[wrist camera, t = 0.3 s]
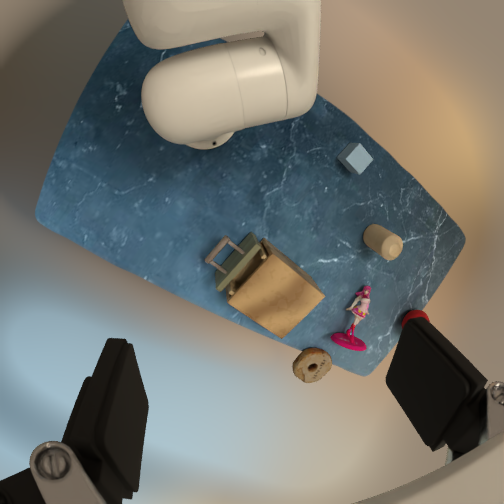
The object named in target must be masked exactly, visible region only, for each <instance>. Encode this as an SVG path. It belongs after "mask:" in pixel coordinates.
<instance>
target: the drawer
mask: <svg viewBox="0 0 504 504" xmlns="http://www.w3.org/2000/svg"><path fill="white" fill-rule="evenodd" d="M227 243H228V244H229V245H231V246H232V247H233V248H235V250H234V252H233V253H232V254H231V255H230V256H229V257H228V258H227V260H226V261H225V262H224V263H223V264H222V265H221V266H220V265H218V264H217V263H216V262H214V261H213V259H214V258H215V256H216V255H217V254H218V253H219V252H220V251H221V250H222V248H223V247H224V246H225V245H226V244H227ZM268 256H269V254H268V252H267V250H266V248H265V247H264V246H262V245H261V244H260V243H259V242H258V240H257V238H256V236H255V234H253V233H252V232H250V234H249V235H248V236H247V237H246V238H245V239H244V240H243V241H242V243H241V244H240V245H239V246H237V245H236V244H234V243H233V242H232V241H230V238H229V237H228V236H226V235H225V236H224V237H223V238H222V239H221V241H220V242H219V243H218V244H217V245H216V246H215V248H214V249H213V250H212V251H211V252H210V253H209V255H208V256H207V257H206V258H205V259H204V260H205V261H206V262H207V263H208V264H209V263H211V264H212V265H213V266H215V267H216V268H217V269H218V270H217V271H216V272H215V283H216V289H217V290H218V291H220V292H221V291H222V290H223V289H224V288H225V287H226V286H227V285H228V293H229V294H231V295H233V294H234V293H235V292H236V291H237V289H238V288H239V287H240V286H241V285H242V284H243V283H244V282H245V281H246V280H247V279H248V278H249V276H250V275H251V274H252V273H253V272H254V271H255V270H256V269H257V268H258V267H259V266H260V264H261V263H262V262H263V261H264V260H265V259H266V258H267V257H268Z"/></svg>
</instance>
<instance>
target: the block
mask: <svg viewBox="0 0 504 504" xmlns="http://www.w3.org/2000/svg"><path fill="white" fill-rule="evenodd" d="M337 158H338V160H339V161H340V162H341V163H342V164H343V165H344V166H345V167H346V168H347V169H348V170H349V171H350V172H351V173H355V174H359V175H360V174H361V173H362V172H363V171H364V170H365V168H366V167H367V166H368V165H369V164H370V163H371V162H372V160H373V158H372V157H371V156H370V155H369V154H368V152H367V151H366V150H365V149H364V148H363V147H362V145H361V144H360V143H349V144H348V145H347V147H346V148H345V149H344V150H343V151H342V152H341V153H340V154H339V155H338V157H337Z"/></svg>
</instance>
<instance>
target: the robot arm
mask: <svg viewBox="0 0 504 504" xmlns="http://www.w3.org/2000/svg"><path fill="white" fill-rule="evenodd" d="M122 2H123V4H124V7H125V11H126V13H127V16H128V19H129V21H130V24H131V26H132V28H133V30H134V32H135V34H136V36H137V37H138V39H139V40H140V41H141V42H142V43H143V44H144V45H145V46H148V47H150V48H153V49H170V48H175V47H180V46H185V45H189V44H194V43H198V42H203V41H207V40H212V39H216V38H221V37H225V36H231V35H236V34H242V33H249V32H256V31H263V32H264V33H265V34H264V36H263V37H257V38H250V39H245V40H238V41H233V42H228V43H220V44H216V45H211V46H207V47H203V48H199V49H195V50H191V51H187V52H184V53H181V54H178V55H175V56H172V57H170V58H167V59H165V60H163V61H161V62H160V63H158V64H157V65H155V66H154V67H153V68H152V69H151V70H150V71H149V72H148V74H147V75H146V77H145V79H144V82H143V85H142V93H141V98H142V105H143V109H144V113H145V115H146V118H147V120H148V122H149V123H150V125H151V126H152V128H153V129H154V130H155V131H156V132H157V133H158V134H159V135H160V136H161V137H162V138H164V139H165V140H167V141H170V142H172V143H176V144H186V145H188V146H190V147H192V148H196V149H212V148H215V147H218V146H220V145H222V144H223V143H225V142H226V141H227V140H228V139H229V138H230V137H231V136H232V135H233V133H234V132H235V131H238V130H242V129H244V128H248V127H252V126H257V125H262V124H266V123H271V122H276V121H281V120H285V119H290V118H293V117H297V116H300V115H302V114H304V113H306V112H307V111H308V110H309V109H310V108H311V107H312V105H313V103H314V101H315V98H316V94H317V86H318V73H319V51H320V50H319V49H320V26H321V23H320V22H321V0H122ZM213 142H215V143H216V144H215V145H213ZM487 381H488V380H487V379H486V378H485V377H484V376H483V375H482V374H481V373H480V372H479V371H478V370H477V369H476V368H475V367H474V366H473V364H472V363H470V361H469V360H468V359H467V358H466V357H465V356H464V355H463V354H462V353H461V352H460V351H459V350H458V349H457V348H456V347H455V346H453V344H452V343H451V342H450V341H449V340H448V339H446V338H445V337H444V336H443V335H442V334H441V333H440V332H439V331H438V330H437V329H436V328H435V327H434V326H433V325H432V324H431V323H430V322H429V321H428V320H427V319H426V318H424V317H416V318H410V319H408V321H407V322H406V323H405V324H404V326H403V329H402V332H401V335H400V338H399V341H398V344H397V347H396V350H395V353H394V356H393V359H392V362H391V364H390V367H389V370H388V372H387V375H386V384H387V386H388V388H389V389H390V390H391V392H392V394H393V395H394V396H395V398H396V400H397V401H398V403H399V404H400V406H401V407H402V409H403V410H404V412H405V414H406V415H407V417H408V418H409V420H410V421H411V423H412V424H413V426H414V427H415V429H416V431H417V432H418V434H419V435H420V437H421V438H422V440H423V442H424V443H425V444H426V445H427V446H429V447H430V448H431V450H432V451H435V450H438V449H440V448H442V447H443V446H444V445H445V444H447V445H448V451H447V457H446V463H445V466H443V467H441V468H440V469H437V470H435V471H433V472H431V473H429V474H427V475H425V476H423V477H421V478H419V479H416V480H414V481H412V482H410V483H408V484H405V485H403V486H400V487H398V488H395V489H393V490H390V491H388V492H385V493H382V494H380V495H377V496H374V497H371V498H368V499H365V500H362V501H359V502H356V503H353V504H504V383H503V382H497V381H496V382H492V383H491V384H489V386H488V388H487V389H485V388H484V386H485V384H486V382H487ZM148 408H149V405H148V399H147V395H146V392H145V389H144V385H143V382H142V378H141V375H140V371H139V368H138V364H137V360H136V356H135V352H134V348H133V345H132V344H130V343H127V341H126V339H118V338H109V339H107V341H106V343H105V346H104V348H103V350H102V353H101V355H100V358H99V360H98V363H97V365H96V367H95V370H94V372H93V375H92V377H90V376H89V377H86V379H85V380H84V382H83V385H82V387H81V390H80V392H79V395H78V397H77V400H76V402H75V405H74V408H73V410H72V413H71V416H70V419H69V421H68V424H67V427H66V430H65V432H64V435H63V438H62V441H61V442H58V441H49V442H45V443H42V444H40V445H39V446H37V447H36V448H35V449H34V450H33V452H32V454H31V456H30V463H29V464H30V468H27V469H25V470H23V471H21V472H19V473H17V474H15V475H12V476H10V477H8V478H6V479H3V480H1V481H0V504H122V498H125V499H132V496H133V492H137V491H138V489H139V479H140V470H141V461H142V453H143V445H144V437H145V430H146V423H147V416H148Z"/></svg>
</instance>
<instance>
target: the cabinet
mask: <svg viewBox="0 0 504 504" xmlns="http://www.w3.org/2000/svg"><path fill="white" fill-rule="evenodd" d="M260 244H261V245H262V246H264V247H265V248H266V250H267V252H268V254H269V256H268V257H267V258H266V259H265V260H264V261H263V262H262V263H261V264H260V266H259V267H258V268H257V269H256V270H255V271H254V272H253V273H252V274H251V275H250V276H249V278H248V279H247V280H246V281H245V282H244V283H243V284H242V285H241V286H240V287H239V288H238V289H237V291H236V292H235V293H234V294H233V295H231V294H229V293H228V285H227V286H226V287H225V288H226V296H227V303H228V304H230V305H231V306H233V307H234V308H236V309H237V310H239V311H240V312H242V313H243V314H245V315H246V316H248V317H249V318H251V319H252V320H254V321H255V322H257V323H258V324H260V325H261V326H263V327H264V328H266V329H267V330H269V331H271V332H272V333H274V334H275V335H277V336H278V337H280V338H281V339H282V338H283V337H284V336H286V335H287V334H288V333H289V332H290V331H291V330H292V329H293V328H294V327H295V326H296V325H297V324H298V323H299V322H300V321H301V320H302V319H303V318H304V317H305V316H306V315H307V314H308V313H309V312H310V311H311V310H312V309H313V308H314V307H315V306H316V305H317V304H318V303H319V302H320V301H321V300H322V299H323V298H324V297H325V296H324V294H323V293H322V291H321V290H320V289H319V287H318V286H317V284H316V283H315V282H314V280H313V279H312V277H311V276H309V275H308V274H307V273H306V272H305V271H303V270H302V269H301V268H300V267H299V266H297V265H296V264H295V263H294V262H293V261H292V260H290V259H289V258H288V257H287V256H286V255H284V254H283V253H282V252H281V251H280V250H278V249H277V248H276V247H275V246H273V245H272V244H271V243H270V242H269V241H267V240H266V239H265V238H263V240H262V241H261V242H260Z"/></svg>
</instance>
